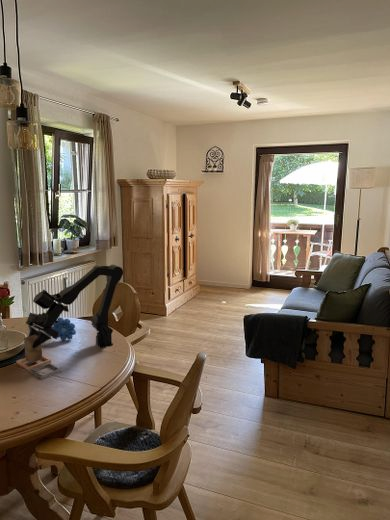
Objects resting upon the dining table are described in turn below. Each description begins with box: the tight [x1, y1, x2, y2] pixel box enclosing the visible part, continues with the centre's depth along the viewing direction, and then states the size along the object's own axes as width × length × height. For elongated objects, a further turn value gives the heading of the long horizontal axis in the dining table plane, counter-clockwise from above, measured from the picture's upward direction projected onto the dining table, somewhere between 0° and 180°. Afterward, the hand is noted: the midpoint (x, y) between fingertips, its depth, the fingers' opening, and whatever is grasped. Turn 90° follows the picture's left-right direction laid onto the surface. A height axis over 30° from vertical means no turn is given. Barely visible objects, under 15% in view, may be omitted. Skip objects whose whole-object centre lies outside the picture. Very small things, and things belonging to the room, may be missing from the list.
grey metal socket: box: [29, 362, 62, 380], centre depth 159 cm, size 9×9×1 cm
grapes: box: [51, 317, 77, 341], centre depth 190 cm, size 12×7×12 cm, turn 105°
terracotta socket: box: [16, 354, 52, 372], centre depth 167 cm, size 10×10×1 cm
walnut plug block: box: [23, 335, 43, 364], centre depth 166 cm, size 5×5×10 cm
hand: (29, 346), depth 165 cm, fingers closed on walnut plug block, 5 cm apart
